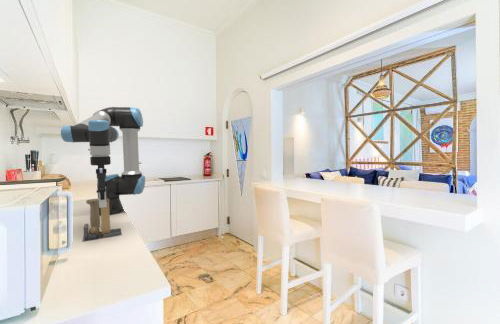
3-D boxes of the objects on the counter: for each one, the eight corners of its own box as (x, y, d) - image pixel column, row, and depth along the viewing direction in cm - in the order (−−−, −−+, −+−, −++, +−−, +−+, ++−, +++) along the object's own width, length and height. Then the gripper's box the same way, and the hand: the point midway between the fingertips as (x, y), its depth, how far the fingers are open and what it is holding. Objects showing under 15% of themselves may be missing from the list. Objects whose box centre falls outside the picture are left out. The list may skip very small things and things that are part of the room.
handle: (102, 231, 118) (101, 200, 117) (86, 233, 115) (85, 201, 114) (104, 228, 122) (102, 198, 121) (88, 229, 120) (87, 199, 119)
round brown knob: (91, 234, 109) (91, 225, 109) (101, 233, 110) (101, 225, 109) (87, 237, 105) (86, 228, 105) (97, 237, 106) (97, 227, 105)
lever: (101, 232, 110) (99, 198, 109) (110, 231, 112) (109, 197, 111) (101, 235, 107) (99, 200, 106) (110, 233, 109) (109, 199, 108)
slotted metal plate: (84, 237, 110) (83, 222, 110) (120, 231, 117) (120, 217, 117) (82, 245, 101) (81, 229, 100) (122, 238, 108) (121, 223, 108)
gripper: (91, 154, 116) (94, 199, 118) (88, 157, 94) (91, 211, 96) (109, 154, 120) (111, 197, 121) (110, 157, 98) (113, 209, 100)
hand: (103, 203), depth 109 cm, fingers open, 13 cm apart
